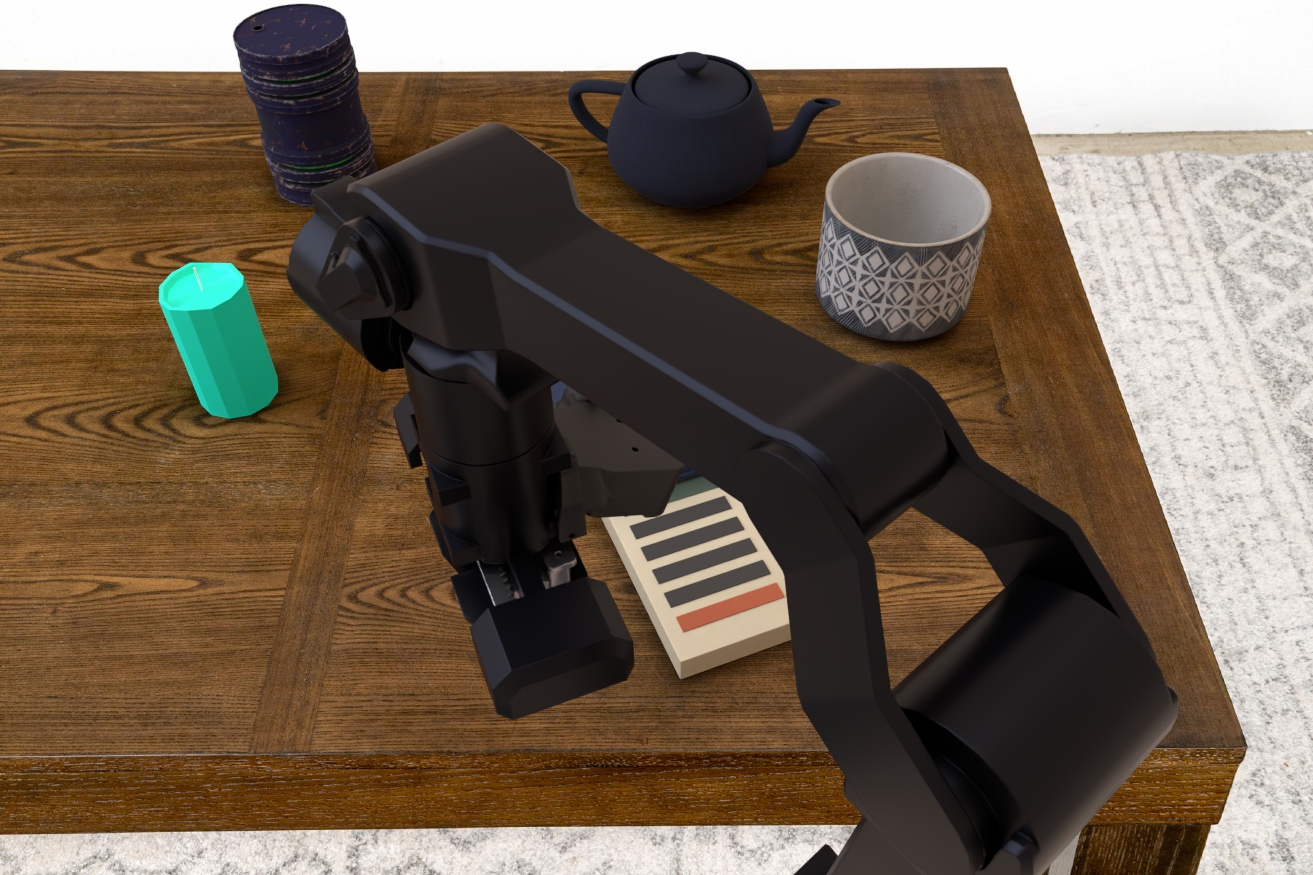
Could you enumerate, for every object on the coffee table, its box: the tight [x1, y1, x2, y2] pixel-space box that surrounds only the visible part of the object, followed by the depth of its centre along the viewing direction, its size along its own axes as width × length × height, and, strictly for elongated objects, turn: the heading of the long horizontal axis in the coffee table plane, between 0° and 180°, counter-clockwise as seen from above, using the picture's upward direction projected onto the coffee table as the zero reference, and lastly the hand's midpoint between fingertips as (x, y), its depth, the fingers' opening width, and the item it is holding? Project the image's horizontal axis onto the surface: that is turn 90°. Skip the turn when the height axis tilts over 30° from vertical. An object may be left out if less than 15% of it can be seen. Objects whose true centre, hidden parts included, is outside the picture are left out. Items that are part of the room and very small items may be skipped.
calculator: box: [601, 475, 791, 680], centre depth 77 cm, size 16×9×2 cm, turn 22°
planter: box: [814, 151, 992, 342], centre depth 93 cm, size 13×13×10 cm
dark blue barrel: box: [232, 3, 379, 208], centre depth 105 cm, size 10×10×15 cm
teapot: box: [567, 51, 842, 210], centre depth 106 cm, size 25×16×12 cm, turn 75°
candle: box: [158, 262, 279, 419], centre depth 86 cm, size 6×6×12 cm
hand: (520, 629), depth 60 cm, fingers closed
